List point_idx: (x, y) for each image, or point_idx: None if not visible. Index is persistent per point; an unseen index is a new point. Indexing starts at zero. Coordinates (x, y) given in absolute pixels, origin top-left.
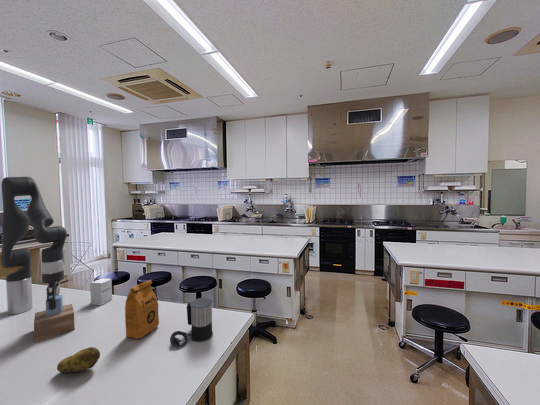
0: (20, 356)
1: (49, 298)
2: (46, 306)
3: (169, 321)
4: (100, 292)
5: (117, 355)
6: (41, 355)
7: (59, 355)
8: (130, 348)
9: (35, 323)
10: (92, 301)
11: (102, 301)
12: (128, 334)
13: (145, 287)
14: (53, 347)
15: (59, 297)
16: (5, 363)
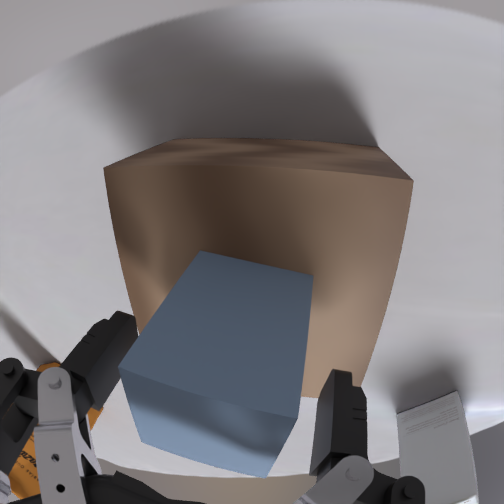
0: (72, 105)
1: (47, 405)
2: (155, 319)
3: (99, 427)
4: (403, 471)
5: (4, 317)
6: (43, 178)
7: (26, 226)
8: (19, 341)
9: (106, 178)
10: (449, 408)
11: (398, 431)
12: (42, 368)
13: (23, 485)
14: (74, 214)
15: (174, 449)
16: (57, 66)
